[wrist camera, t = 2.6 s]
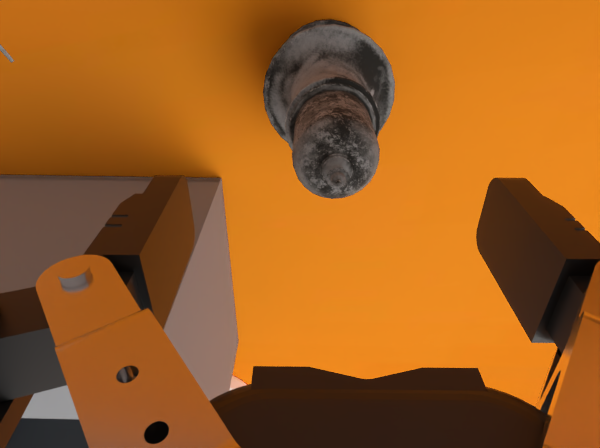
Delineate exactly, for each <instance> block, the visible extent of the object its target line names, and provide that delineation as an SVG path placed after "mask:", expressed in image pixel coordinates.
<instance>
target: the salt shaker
mask: <svg viewBox="0 0 600 448" xmlns="http://www.w3.org/2000/svg"><path fill="white" fill-rule="evenodd" d="M394 89H395V81H394V77H393V73H392V68H391V65H390V63H389V61H388V59H387V58H386V56H385V54H384V52H383V50H382V49H381V48H380V47H379V46H378V45H377V44H376V43H375V42H374V41H373V40H372V39H371V38H370V37H369V36H367V35H365V34H363V33H362V32H360V31H359V30H358V29H356V28H355V27H353V26H351V25H349V24H347V23H345V22H341V21H336V20H319V21H315V22H312V23H309V24H307V25H304V26H302V27H301V28H300V29H298V30H297V31H296V32H294V33H293V34H292V35H291V36H290V37H289V39H288V40H287V41H286V42H285V43H284V44H283V45H282V47H281V48H280V49H279V50H278V52H277V53H276V54H275V55H274V57H273V58H272V61H271V63H270V65H269V68H268V70H267V72H266V75H265V82H264V90H263V95H264V103H265V109H266V112H267V114H268V117H269V119H270V122H271V124H272V126H273V127H274V128H275V130H276V131H277V132H278V134H279V135H280V136H281V137H282V138H283V139H284V140H285V141H287V142H288V143H289V146H290V148H291V149H292V151H293V152H292V158H293V166H294V169H295V172H296V174H297V177H298V179H299V180H300V181H301V183H302V184H303V185H304V187H305V188H307V189H308V190H309V191H311V192H312V193H314V194H316V195H318V196H321V197H325V198H331V199H333V198H344V197H347V196H350V195H353V194H355V193H356V192H358V191H360V190H362V189H363V188H364V187H365V186H366V185H367V184H368V183H369V182H370V180H371V179H372V177H373V176H374V174H375V172H376V169H377V166H378V162H379V145H378V141H377V136H378V133H379V131H380V130H381V129H382V127H383V125H384V124H385V122H386V120H387V119H388V117H389V115H390V111H391V108H392V105H393V102H394Z"/></svg>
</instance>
